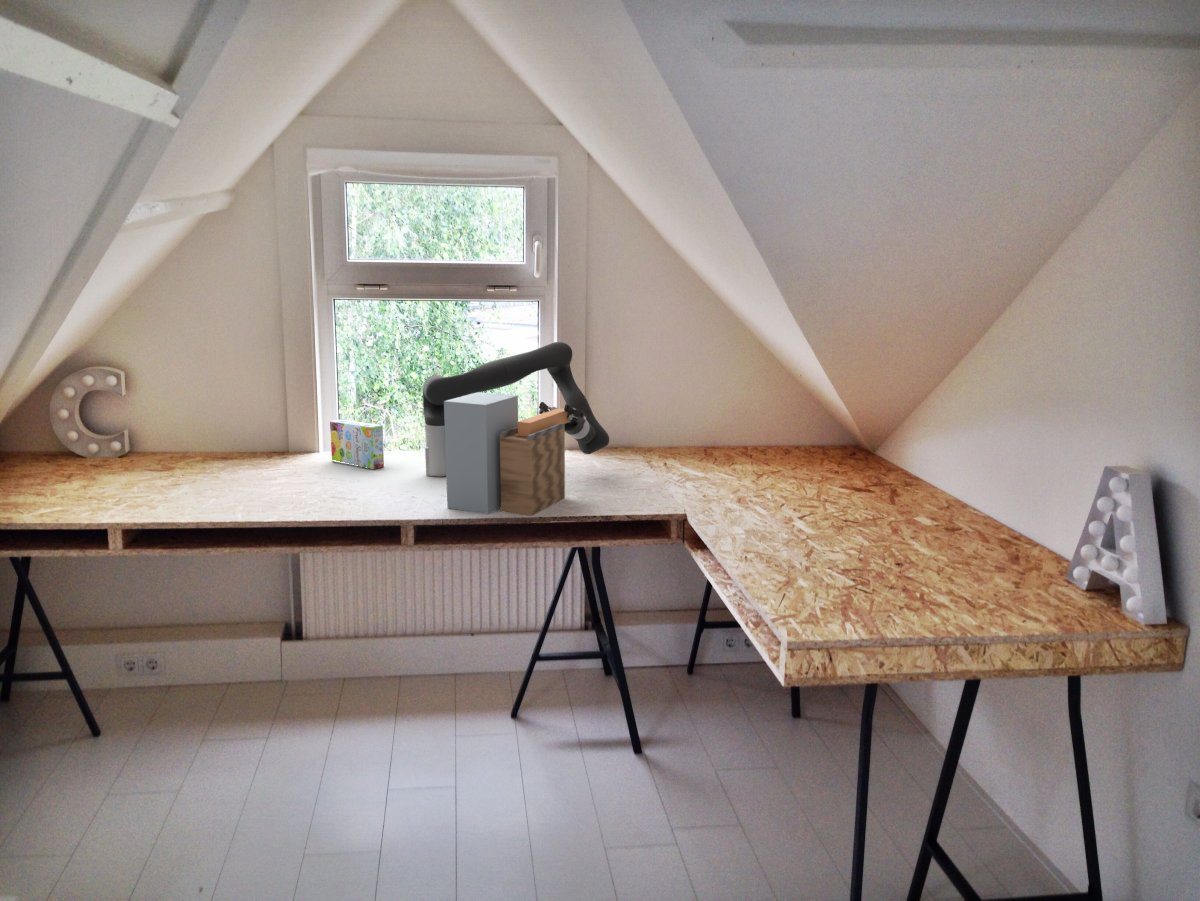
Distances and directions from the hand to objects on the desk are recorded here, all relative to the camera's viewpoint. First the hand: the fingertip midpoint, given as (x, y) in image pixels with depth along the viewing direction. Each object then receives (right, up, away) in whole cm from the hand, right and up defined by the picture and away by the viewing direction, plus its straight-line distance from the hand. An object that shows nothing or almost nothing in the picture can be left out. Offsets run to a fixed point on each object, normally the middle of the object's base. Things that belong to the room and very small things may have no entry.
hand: (553, 405), depth 287 cm
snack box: (-71, -19, +44) cm, 85 cm away
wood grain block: (-6, -30, -5) cm, 31 cm away
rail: (-3, -7, -4) cm, 9 cm away
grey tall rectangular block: (-21, -30, -4) cm, 36 cm away
